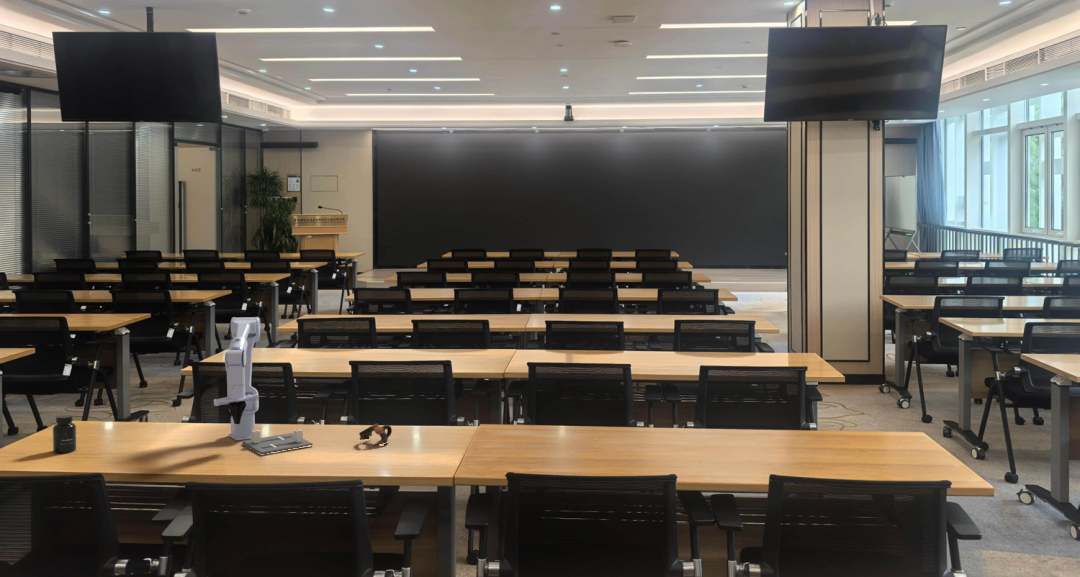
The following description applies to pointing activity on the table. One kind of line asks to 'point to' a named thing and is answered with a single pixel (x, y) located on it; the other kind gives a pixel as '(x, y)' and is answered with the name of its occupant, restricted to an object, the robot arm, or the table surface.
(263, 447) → the console
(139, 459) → the table surface
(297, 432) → the fader
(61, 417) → the supplement bottle
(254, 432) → the fader
